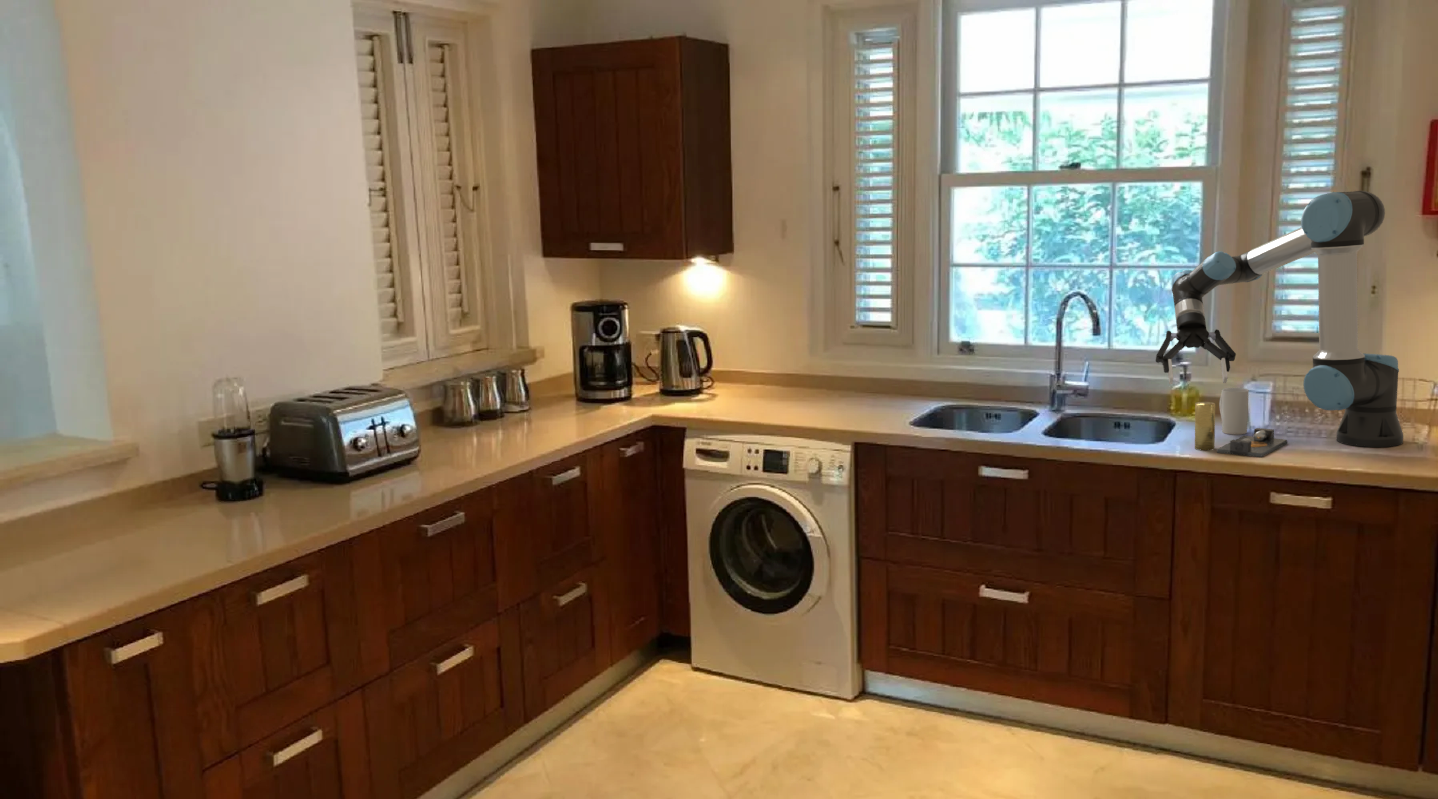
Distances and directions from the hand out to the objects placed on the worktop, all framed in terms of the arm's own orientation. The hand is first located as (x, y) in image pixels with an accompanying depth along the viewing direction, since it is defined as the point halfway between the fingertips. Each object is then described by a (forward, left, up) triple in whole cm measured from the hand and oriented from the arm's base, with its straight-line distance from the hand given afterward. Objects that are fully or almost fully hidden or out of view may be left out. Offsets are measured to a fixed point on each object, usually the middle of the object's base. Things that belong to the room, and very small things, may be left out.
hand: (1198, 380), depth 311 cm
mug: (-3, -15, -16) cm, 23 cm away
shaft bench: (-15, +3, -16) cm, 23 cm away
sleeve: (-5, +9, -16) cm, 19 cm away
